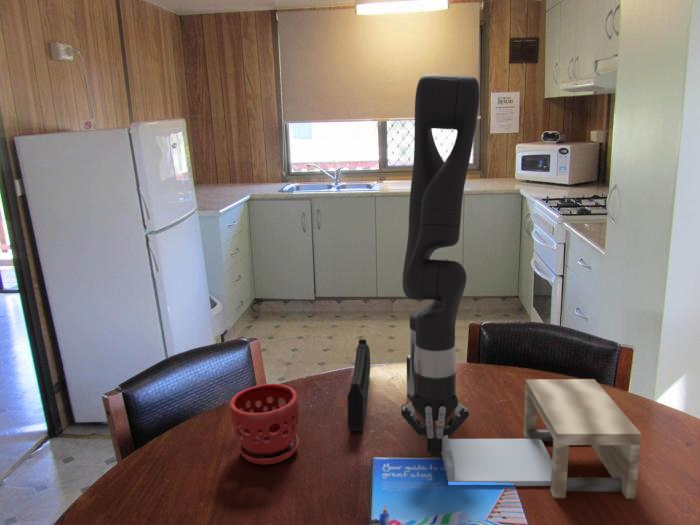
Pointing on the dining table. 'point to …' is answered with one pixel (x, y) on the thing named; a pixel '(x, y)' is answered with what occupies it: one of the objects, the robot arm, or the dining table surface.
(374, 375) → the dining table surface
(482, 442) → the slab
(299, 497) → the dining table surface
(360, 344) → the magazine
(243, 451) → the plant pot
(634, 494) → the small table
